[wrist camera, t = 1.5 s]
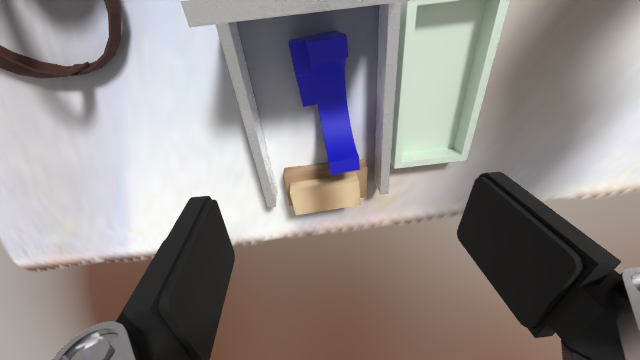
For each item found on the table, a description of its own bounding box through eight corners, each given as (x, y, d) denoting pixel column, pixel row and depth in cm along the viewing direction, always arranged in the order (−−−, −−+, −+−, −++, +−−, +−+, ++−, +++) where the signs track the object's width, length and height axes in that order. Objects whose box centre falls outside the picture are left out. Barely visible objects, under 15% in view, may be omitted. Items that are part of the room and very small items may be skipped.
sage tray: (494, -16, 22) (514, -19, 20) (455, 150, 32) (466, 160, 29) (398, -4, 22) (408, -6, 20) (388, 158, 32) (394, 168, 29)
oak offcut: (355, 172, 30) (359, 181, 28) (357, 194, 32) (360, 205, 30) (290, 183, 30) (289, 193, 29) (296, 204, 32) (295, 215, 31)
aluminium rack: (391, -15, 22) (446, -31, 14) (381, 180, 33) (408, 235, 25) (220, 6, 22) (171, 2, 14) (270, 193, 33) (259, 252, 25)
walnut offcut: (362, 157, 32) (367, 167, 30) (362, 185, 34) (366, 197, 32) (284, 166, 32) (283, 176, 30) (290, 193, 34) (289, 205, 32)
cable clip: (289, 40, 24) (287, 47, 19) (336, 30, 24) (346, 35, 19) (313, 150, 31) (316, 177, 26) (350, 143, 30) (360, 169, 25)
